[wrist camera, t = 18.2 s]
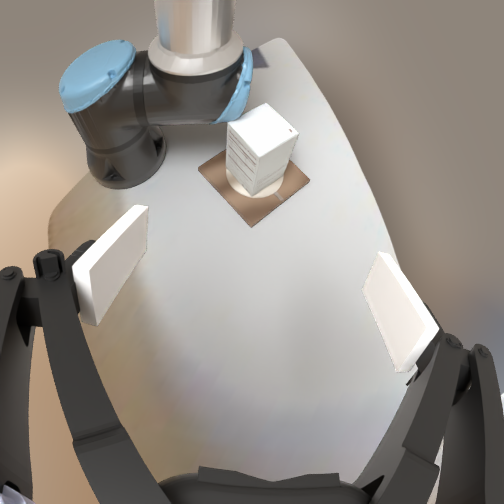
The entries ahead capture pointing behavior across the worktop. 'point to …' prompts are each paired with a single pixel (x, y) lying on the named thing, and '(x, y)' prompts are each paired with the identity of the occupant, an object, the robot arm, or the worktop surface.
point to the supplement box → (259, 147)
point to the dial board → (241, 199)
